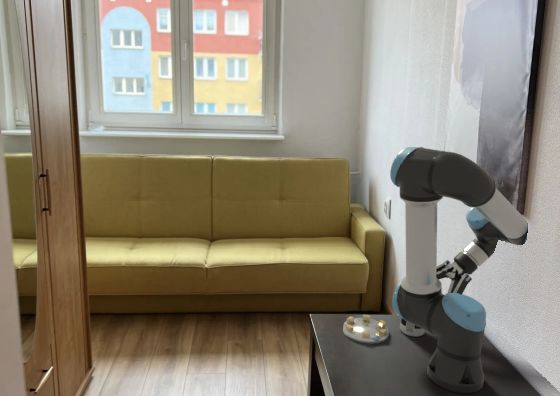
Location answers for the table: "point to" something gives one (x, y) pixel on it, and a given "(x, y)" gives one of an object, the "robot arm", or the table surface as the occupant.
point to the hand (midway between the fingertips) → (423, 302)
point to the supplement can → (411, 329)
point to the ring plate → (366, 330)
